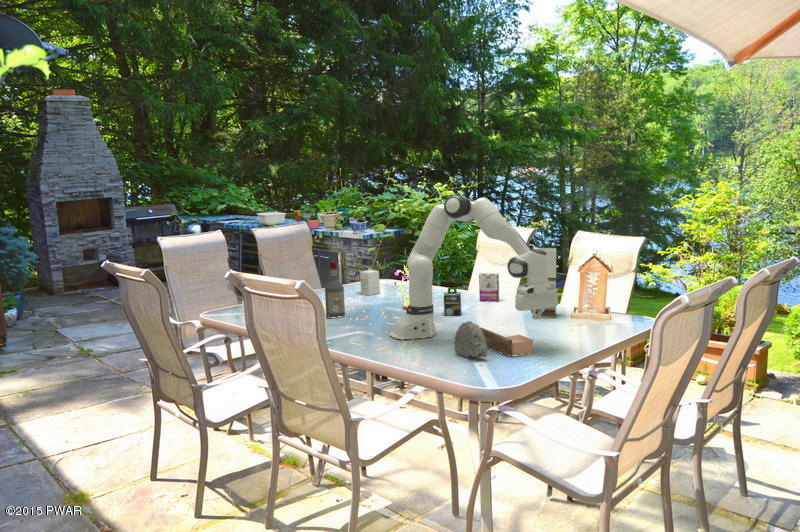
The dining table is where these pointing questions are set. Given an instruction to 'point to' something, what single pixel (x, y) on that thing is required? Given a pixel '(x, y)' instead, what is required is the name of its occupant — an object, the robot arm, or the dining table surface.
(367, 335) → the dining table surface
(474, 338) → the decorative rock
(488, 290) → the candy bar box
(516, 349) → the block
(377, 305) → the dining table surface
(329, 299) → the liquor
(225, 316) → the dining table surface
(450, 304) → the chalk box
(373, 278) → the supplement box
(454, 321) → the dining table surface
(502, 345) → the board
